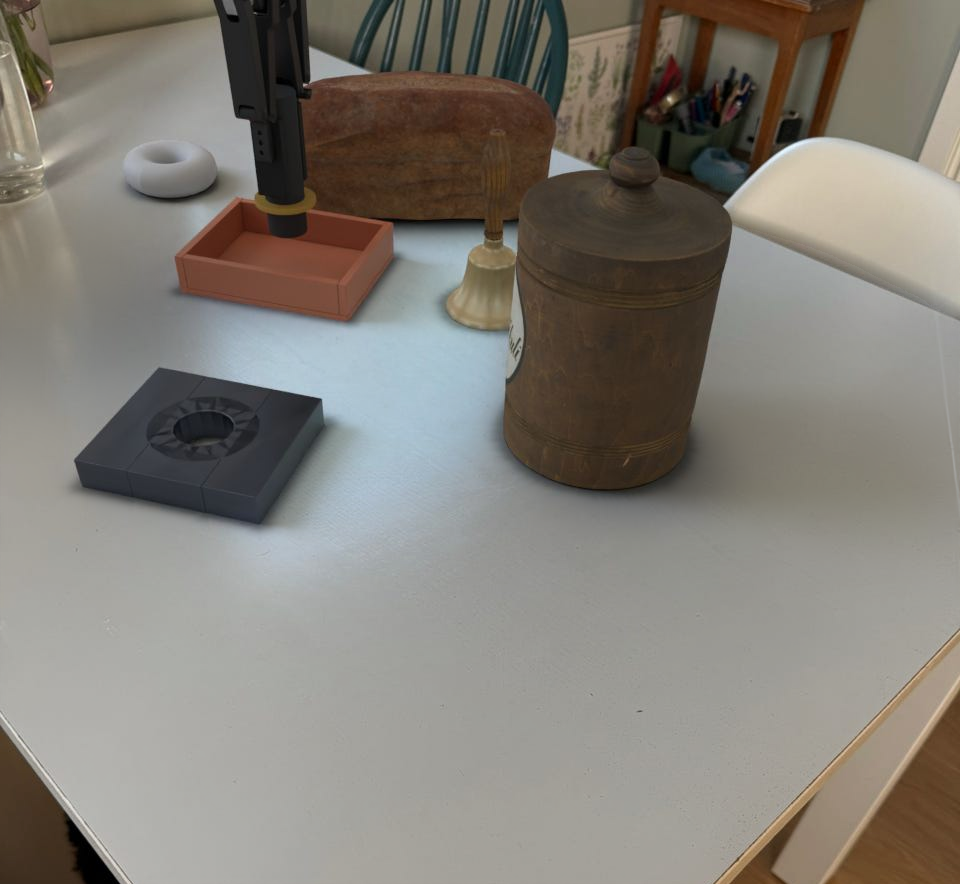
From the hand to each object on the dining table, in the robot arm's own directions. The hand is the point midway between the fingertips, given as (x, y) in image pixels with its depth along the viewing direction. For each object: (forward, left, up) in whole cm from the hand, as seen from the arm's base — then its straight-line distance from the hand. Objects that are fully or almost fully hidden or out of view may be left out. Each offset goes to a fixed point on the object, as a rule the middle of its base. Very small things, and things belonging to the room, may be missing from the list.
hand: (283, 185), depth 89 cm
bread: (+7, +20, -9) cm, 23 cm away
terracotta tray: (0, 0, -8) cm, 8 cm away
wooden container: (+33, -17, -9) cm, 38 cm away
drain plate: (+5, -29, -8) cm, 31 cm away
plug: (0, 0, -4) cm, 4 cm away
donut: (-20, +15, -9) cm, 27 cm away
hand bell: (+20, 0, -9) cm, 22 cm away
